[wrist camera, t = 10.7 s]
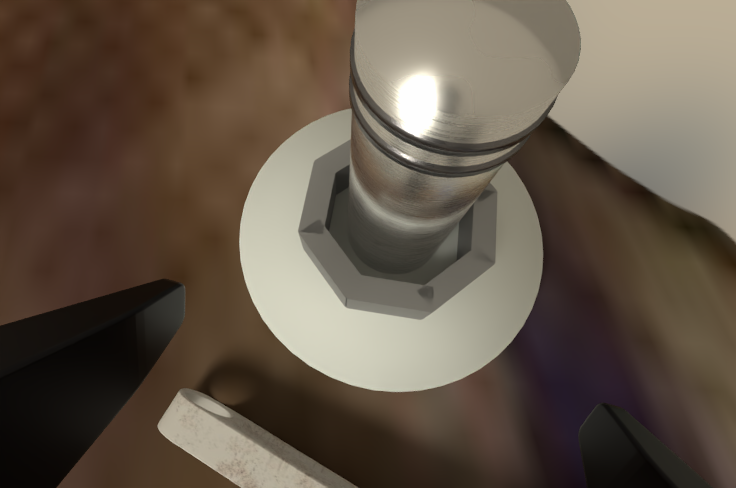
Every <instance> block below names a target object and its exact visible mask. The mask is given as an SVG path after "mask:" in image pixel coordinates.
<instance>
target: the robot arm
mask: <svg viewBox="0 0 736 488" xmlns="http://www.w3.org/2000/svg"><path fill="white" fill-rule="evenodd" d="M184 316H185V287H184V285H183V284H182V283H180V282H176V281H173V280H169V279H160V280H157V281H153V282H150V283H147V284H143V285H140V286H136V287H133V288H129V289H126V290H122V291H119V292H115V293H112V294H109V295H105V296H102V297H98V298H95V299H91V300H88V301H84V302H81V303H77V304H74V305H70V306H67V307H64V308H60V309H57V310H53V311H50V312H46V313H43V314H39V315H36V316H32V317H29V318H25V319H22V320H18V321H15V322H12V323H8V324H5V325H1V326H0V488H56V487H57V486H58V485H59V484H60V483H61V481H62V480H63V479H64V478H65V476H66V475H67V474H68V473H69V472H70V470H71V469H72V468H73V467H74V466H75V464H76V463H77V462H78V461H79V460H80V458H81V457H82V456H83V455H84V454H85V452H86V451H87V450H88V449H89V447H90V446H91V445H92V444H93V443H94V441H95V440H96V439H97V438H98V437H99V435H100V434H101V433H102V432H103V431H104V429H105V428H106V427H107V426H108V424H109V423H110V422H111V421H112V420H113V418H114V417H115V416H116V415H117V414H118V412H119V411H120V410H121V409H122V408H123V406H124V405H125V404H126V403H127V401H128V400H129V399H130V398H131V397H132V395H133V394H134V393H135V392H136V390H137V389H138V388H139V387H140V385H141V384H142V382H143V381H144V379H145V378H146V377H147V375H148V374H149V372H150V371H151V369H152V368H153V366H154V365H155V363H156V362H157V360H158V359H159V357H160V356H161V354H162V353H163V351H164V350H165V348H166V347H167V345H168V344H169V342H170V341H171V339H172V338H173V336H174V335H175V333H176V332H177V330H178V329H179V327H180V326H181V324H182V322H183V319H184ZM579 445H580V450H581V456H582V461H583V467H584V472H585V478H586V483H587V488H713V487H711V486H710V485H709V484H708V483H707V482H706V481H705V480H704V479H702V478H701V477H700V476H699V475H698V474H697V473H696V472H695V471H693V470H692V469H691V468H690V467H689V466H688V465H687V464H685V463H684V462H683V461H682V460H681V459H680V458H679V457H678V456H676V455H675V454H674V453H673V452H672V451H671V450H670V449H669V448H667V447H666V446H665V445H664V444H663V443H662V442H661V441H659V440H658V439H657V438H656V437H655V436H654V435H653V434H652V433H650V432H649V431H648V430H647V429H646V428H645V427H644V426H643V425H641V424H640V423H639V422H638V421H637V420H636V419H635V418H633V417H632V416H631V415H630V414H629V413H628V412H627V411H625V410H624V409H622V408H620V407H617V406H614V405H610V404H607V403H600V404H598V405H597V406H596V407H595V408H594V409H593V411H592V412H591V414H590V415H589V416H588V418H587V419H586V420H585V422H584V423H583V424H582V426H581V427H580V430H579Z"/></svg>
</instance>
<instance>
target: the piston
mask: <svg viewBox="0 0 736 488" xmlns="http://www.w3.org/2000/svg"><path fill="white" fill-rule="evenodd" d="M580 47H581V38H580V32H579V27H578V24H577V21H576V18H575V16H574V13H573V11H572V10H571V8H570V6H569V4H568V3H567V1H566V0H357V5H356V16H355V29H354V32H353V35H352V39H351V47H350V79H349V97H350V104H351V109H352V120H351V146H350V172H349V198H348V224H347V232H348V239H349V242H350V245H351V247H352V249H353V251H354V252H355V254H356V255H357V257H358V258H359V259H360V260H361V261H362V262H363V263H365V264H366V265H367V266H369V267H370V268H372V269H374V270H376V271H379V272H382V273H386V274H405V273H409V272H412V271H415V270H417V269H419V268H420V267H422V266H423V265H424V264H426V263H427V262H428V261H429V260H430V259H431V257H432V256H433V255H434V254H435V252H436V251H437V250H438V248H439V247H440V246H441V244H442V243H443V242H444V241H445V239H446V238H447V237H448V235H449V234H450V233H451V232H452V230H453V229H454V228H455V226H456V225H457V224H458V223H459V221H460V220H461V219H462V217H463V216H464V215H465V214H466V212H467V211H468V210H469V208H470V207H471V206H472V205H473V203H474V202H475V201H476V199H477V198H478V197H479V196H480V194H481V193H482V192H483V190H484V189H485V188H486V187H487V185H488V184H489V183H490V181H491V180H492V179H493V178H494V176H495V175H496V174H497V172H498V171H499V170H500V169H501V167H502V166H503V165H504V163H506V162H507V161H508V160H509V159H511V158H512V157H513V156H514V155H515V154H516V153H517V152H518V151H519V150H520V149H521V147H522V146H523V145H524V144H525V142H526V141H527V140H528V139H529V137H530V135H531V134H532V133H533V132H534V130H535V129H536V128H537V127H538V126H539V125H540V124H541V122H542V121H543V120H544V119H545V117H546V116H547V115H548V113H549V112H550V110H551V108H552V107H553V105H554V103H555V101H556V98H557V96H558V94H559V93H560V91H561V90H562V89H563V87H564V86H565V85H566V84H567V82H568V81H569V79H570V78H571V76H572V74H573V73H574V71H575V68H576V66H577V63H578V61H579V56H580V50H581V48H580Z"/></svg>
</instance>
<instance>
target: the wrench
mask: <svg viewBox="0 0 736 488" xmlns="http://www.w3.org/2000/svg"><path fill="white" fill-rule="evenodd" d="M158 429H159V431H160V432H161V433H162V434H163V435H164V436H165V437H166V438H167V439H169V440H170V441H171V442H173V443H174V444H176V445H177V446H179V447H181V448H182V449H184V450H185V451H187V452H188V453H190V454H191V455H193V456H194V457H196V458H197V459H199V460H200V461H202V462H203V463H205V464H206V465H208V466H209V467H211V468H212V469H214V470H215V471H217V472H218V473H220V474H222V475H223V476H225V477H226V478H228V479H229V480H231V481H232V482H234V483H235V484H237V485H238V486H240V487H241V488H358V487H357V486H355V485H353V484H352V483H350V482H349V481H347V480H345V479H344V478H342V477H340V476H339V475H337V474H336V473H334V472H332V471H331V470H329V469H327V468H326V467H324V466H323V465H321V464H319V463H318V462H316V461H314V460H313V459H311V458H310V457H308V456H306V455H305V454H303V453H301V452H300V451H298V450H297V449H295V448H293V447H292V446H290V445H289V444H287V443H285V442H284V441H282V440H281V439H279V438H277V437H276V436H274V435H272V434H271V433H269V432H268V431H266V430H264V429H263V428H261V427H260V426H258V425H256V424H255V423H253V422H252V421H250V420H248V419H247V418H245V417H243V416H242V415H240V414H238V413H237V412H235V411H234V410H232V409H230V408H228V407H227V406H225V405H223V404H221V403H220V402H218V401H216V400H214V399H213V398H211V397H209V396H208V395H205V394H203V393H201V392H198V391H195V390H192V389H187V388H184V389H180V391H179V392H178V394H177V395H176V397H175V398H174V400H173V401H172V403H171V404H170V406H169V408H168V409H167V411H166V412H165V414H164V415H163V417H162V418H161V420H160V421H159V423H158Z"/></svg>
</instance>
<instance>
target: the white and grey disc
mask: <svg viewBox="0 0 736 488" xmlns="http://www.w3.org/2000/svg"><path fill="white" fill-rule="evenodd" d="M351 120H352V109H347V110H342V111H339V112H336V113H333V114H330V115H328V116H325V117H323V118H321V119H319V120H317V121H314V122H312V123H310V124H309V125H307V126H305V127H304V128H302V129H301V130H299V131H298V132H296V133H295V134H293V135H292V136H291V137H290V138H289V139H287V140H286V141H285V142H284V143H282V144H281V145H280V147H279V148H278V149H277V150H276V151H275V152H274V153H273V154H272V155H271V156H270V157H269V159H268V160H267V161H266V163H265V164H264V166H263V167H262V168H261V170H260V171H259V173H258V175H257V177H256V179H255V180H254V182H253V184H252V186H251V188H250V191H249V194H248V197H247V199H246V202H245V205H244V210H243V214H242V219H241V225H240V239H239V244H240V258H241V265H242V269H243V274H244V278H245V282H246V285H247V287H248V290H249V293H250V295H251V298H252V301H253V302H254V304H255V306H256V308H257V310H258V312H259V313H260V315H261V317H262V319H263V320H264V322H265V323H266V324H267V326H268V327H269V328H270V330H271V331H272V332H273V333H274V335H275V336H276V337H277V338H278V339H279V340H280V341H281V342H282V343H283V344H284V345H285V346H286V347H287V348H288V349H289V350H290V351H291V352H292V353H293V354H295V355H296V356H297V357H299V358H300V359H301V360H303V361H304V362H305V363H307V364H308V365H309V366H311V367H313V368H315V369H316V370H318V371H320V372H322V373H324V374H325V375H327V376H329V377H331V378H334V379H337V380H339V381H342V382H344V383H347V384H350V385H353V386H357V387H362V388H366V389H371V390H377V391H389V392H407V391H420V390H425V389H430V388H435V387H440V386H443V385H446V384H449V383H452V382H454V381H457V380H460V379H462V378H464V377H466V376H468V375H470V374H472V373H473V372H475V371H477V370H479V369H481V368H482V367H483V366H485V365H486V364H487V363H489V362H490V361H491V360H493V359H494V358H495V357H497V356H498V355H499V354H500V353H501V352H502V351H503V350H504V349H505V348H506V347H507V346H508V345H509V344H510V343H511V342H512V340H513V339H514V338H515V336H516V335H517V333H518V332H519V331H520V329H521V328H522V327H523V325H524V323H525V321H526V319H527V318H528V316H529V314H530V312H531V310H532V308H533V305H534V302H535V299H536V296H537V294H538V291H539V286H540V281H541V276H542V267H543V244H542V234H541V229H540V225H539V220H538V216H537V213H536V211H535V208H534V205H533V202H532V200H531V198H530V196H529V194H528V192H527V190H526V188H525V186H524V184H523V182H522V181H521V179H520V178H519V176H518V175H517V173H516V172H515V170H514V169H513V168H512V166H511V165H510V164H509V163H508V162H506V163H504V165H503V166H502V167H501V169H500V170H499V171H498V172H497V174H496V175H495V176H494V178H493V179H492V180H491V181H490V183H489V184H488V185H487V187H486V188H485V189H484V190H483V192H482V193H481V194H480V196H479V197H478V198H477V199H476V201H475V202H474V203H473V205H472V206H471V207H470V208H469V210H468V211H467V212H466V214H465V215H464V216H463V217H462V219H461V220H460V221H459V223H458V224H457V225H456V226H455V228H454V229H453V230H452V232H451V233H450V234H449V235H448V237H447V238H446V239H445V241H444V242H443V243H442V244H441V246H440V247H439V248H438V250H437V251H436V252H435V254H434V255H433V256H432V257H431V259H430V260H429V261H428V262H427V263H426V264H424V265H423V266H422V267H420V268H419V269H417V270H415V271H412V272H409V273H405V274H386V273H382V272H379V271H376V270H374V269H372V268H370V267H369V266H367V265H366V264H365V263H363V262H362V261H361V260H360V259H359V258H358V257H357V255H356V254H355V252H354V251H353V249H352V247H351V245H350V242H349V239H348V232H347V224H348V198H349V172H350V146H351Z"/></svg>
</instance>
